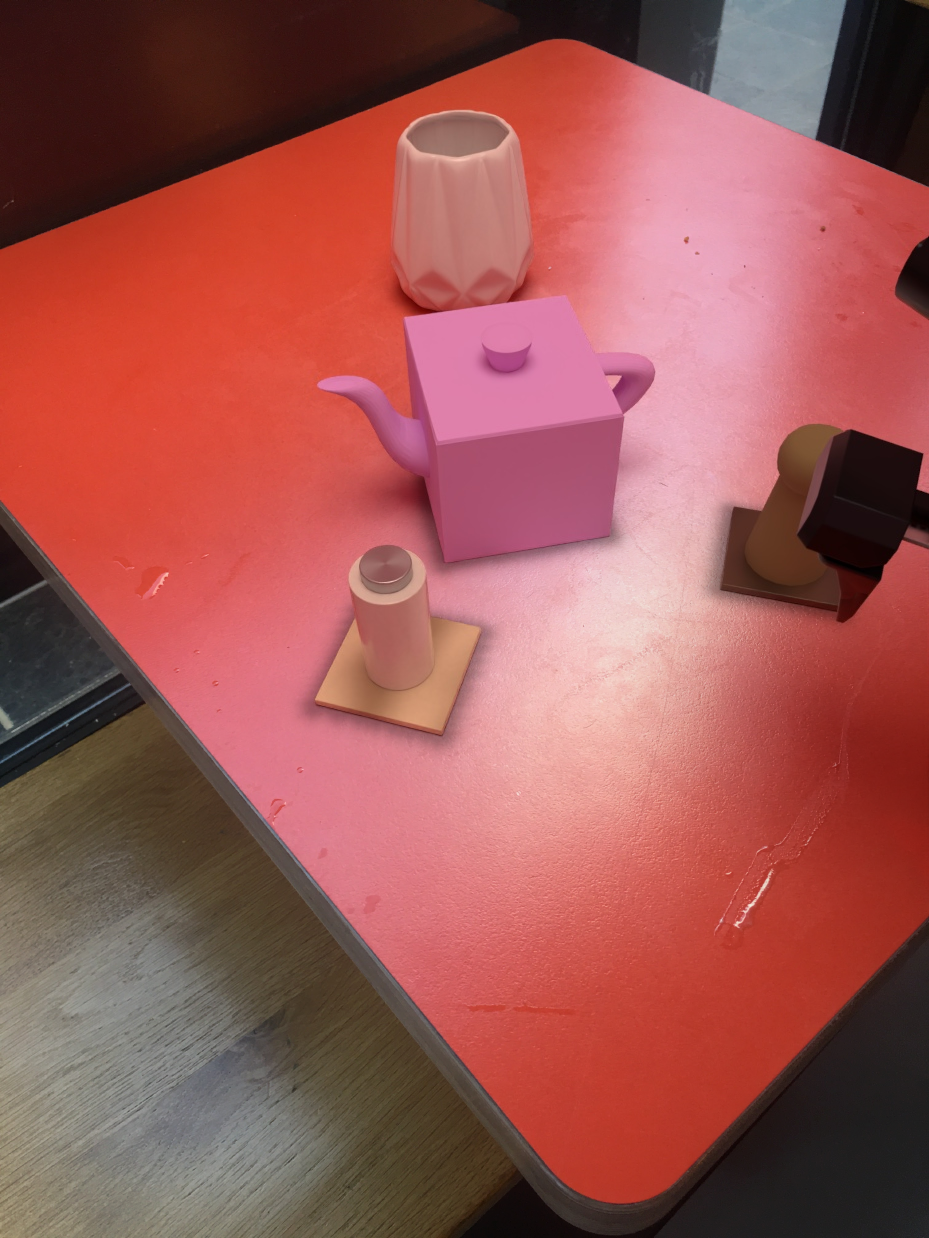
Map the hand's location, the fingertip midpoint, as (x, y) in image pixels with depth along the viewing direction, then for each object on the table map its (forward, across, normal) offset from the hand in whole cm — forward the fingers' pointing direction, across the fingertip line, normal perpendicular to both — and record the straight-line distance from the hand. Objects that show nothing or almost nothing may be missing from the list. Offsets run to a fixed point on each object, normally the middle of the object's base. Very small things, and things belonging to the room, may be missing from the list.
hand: (926, 647), depth 49 cm
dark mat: (+15, +6, -15) cm, 22 cm away
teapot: (+18, +28, -15) cm, 37 cm away
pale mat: (+16, +28, +4) cm, 33 cm away
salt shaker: (+16, +28, +4) cm, 32 cm away
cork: (+14, +6, -15) cm, 21 cm away
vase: (+22, +42, -42) cm, 63 cm away
